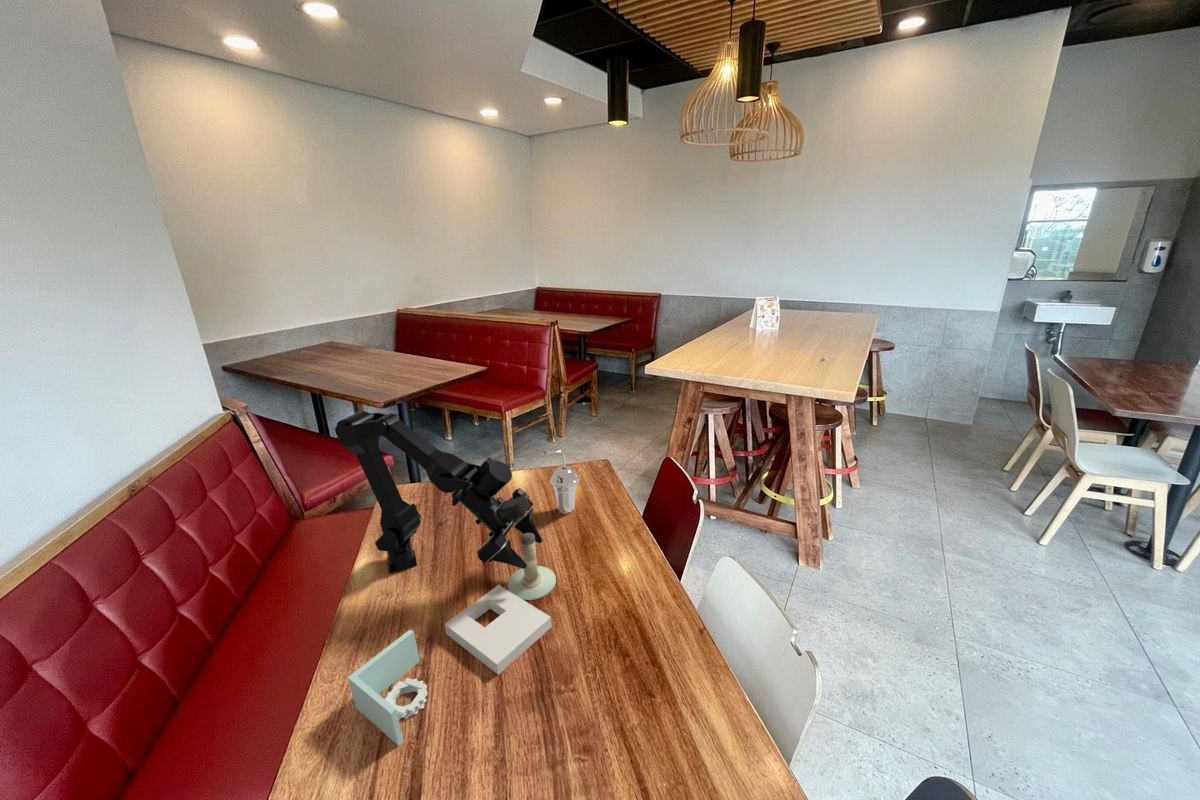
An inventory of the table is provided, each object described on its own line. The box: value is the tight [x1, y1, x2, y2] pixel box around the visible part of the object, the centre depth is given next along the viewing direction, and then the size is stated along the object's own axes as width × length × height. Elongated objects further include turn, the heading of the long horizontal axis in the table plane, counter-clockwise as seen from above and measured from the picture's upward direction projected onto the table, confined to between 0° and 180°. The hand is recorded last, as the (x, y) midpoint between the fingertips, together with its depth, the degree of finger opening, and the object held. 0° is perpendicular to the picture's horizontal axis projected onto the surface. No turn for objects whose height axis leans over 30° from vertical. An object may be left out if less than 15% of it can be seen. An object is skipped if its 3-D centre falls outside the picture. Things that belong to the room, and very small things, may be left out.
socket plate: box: [444, 584, 553, 676], centre depth 95 cm, size 16×14×2 cm
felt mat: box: [507, 565, 557, 601], centre depth 109 cm, size 11×11×1 cm
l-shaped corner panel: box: [347, 629, 429, 747], centre depth 81 cm, size 12×12×8 cm
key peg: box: [520, 533, 541, 588], centre depth 107 cm, size 4×4×12 cm
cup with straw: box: [544, 450, 580, 513], centre depth 135 cm, size 8×9×20 cm
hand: (533, 554), depth 106 cm, fingers open, 9 cm apart
